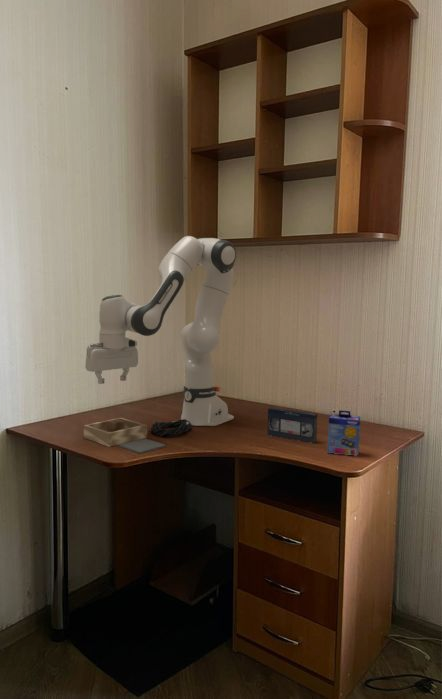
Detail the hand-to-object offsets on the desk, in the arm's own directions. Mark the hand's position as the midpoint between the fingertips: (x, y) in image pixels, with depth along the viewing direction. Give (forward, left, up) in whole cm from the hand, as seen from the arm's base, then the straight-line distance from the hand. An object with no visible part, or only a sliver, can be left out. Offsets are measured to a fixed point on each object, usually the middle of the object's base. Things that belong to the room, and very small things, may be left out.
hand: (112, 382), depth 189 cm
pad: (-1, +15, -20) cm, 25 cm away
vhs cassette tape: (-45, +44, -20) cm, 66 cm away
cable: (-20, +7, -21) cm, 29 cm away
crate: (-1, 0, -20) cm, 20 cm away
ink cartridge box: (-43, +66, -20) cm, 81 cm away
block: (-1, 0, -20) cm, 20 cm away
